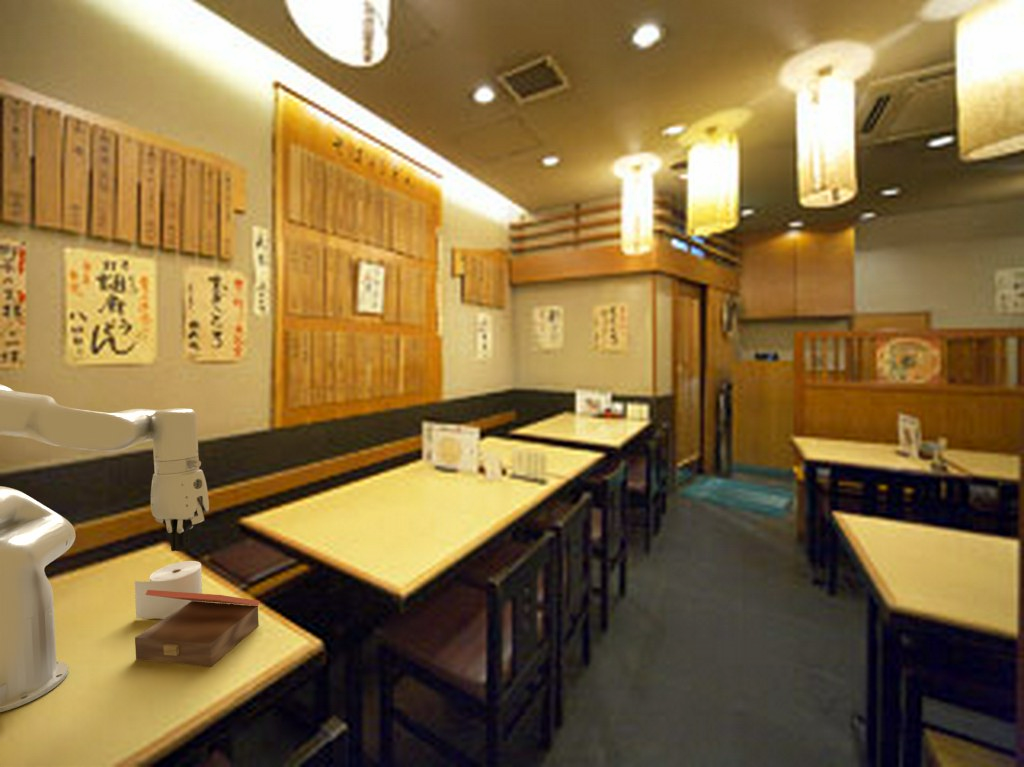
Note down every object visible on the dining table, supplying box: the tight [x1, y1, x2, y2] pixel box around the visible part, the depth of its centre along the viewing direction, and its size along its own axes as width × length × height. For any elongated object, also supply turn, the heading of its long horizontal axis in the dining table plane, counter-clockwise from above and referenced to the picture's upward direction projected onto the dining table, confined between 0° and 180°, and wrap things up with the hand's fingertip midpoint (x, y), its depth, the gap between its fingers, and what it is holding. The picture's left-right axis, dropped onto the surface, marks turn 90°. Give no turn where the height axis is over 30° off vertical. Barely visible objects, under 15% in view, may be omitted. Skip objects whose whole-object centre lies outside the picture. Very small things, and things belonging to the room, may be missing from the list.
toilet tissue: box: [134, 560, 203, 620], centre depth 109 cm, size 11×12×10 cm
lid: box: [145, 590, 260, 607], centre depth 97 cm, size 14×18×1 cm
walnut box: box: [134, 601, 260, 668], centre depth 96 cm, size 15×18×5 cm
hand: (181, 548), depth 91 cm, fingers closed
